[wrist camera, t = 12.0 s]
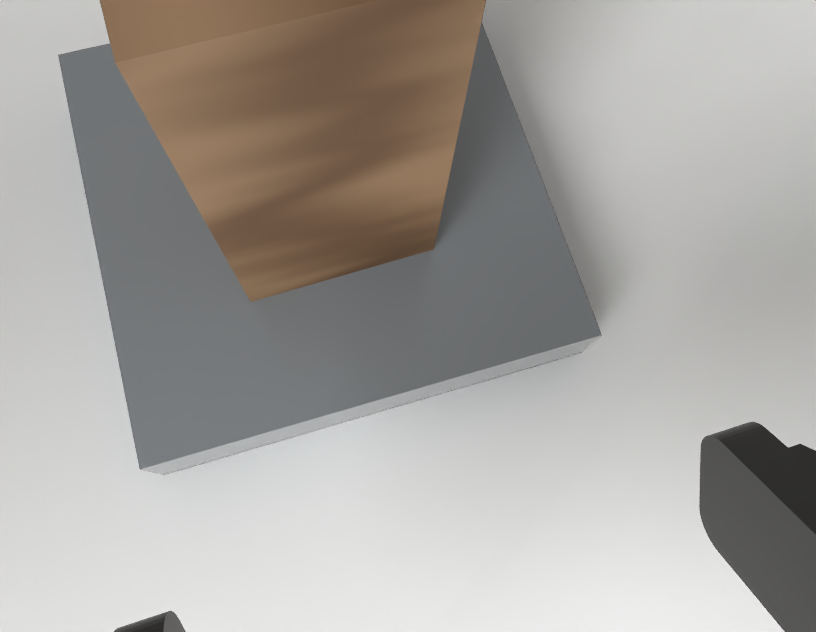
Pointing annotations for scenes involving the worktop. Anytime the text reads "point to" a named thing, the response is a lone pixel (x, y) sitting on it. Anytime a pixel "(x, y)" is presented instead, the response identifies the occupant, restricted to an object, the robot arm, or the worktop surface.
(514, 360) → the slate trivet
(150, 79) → the walnut block
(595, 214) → the worktop surface
